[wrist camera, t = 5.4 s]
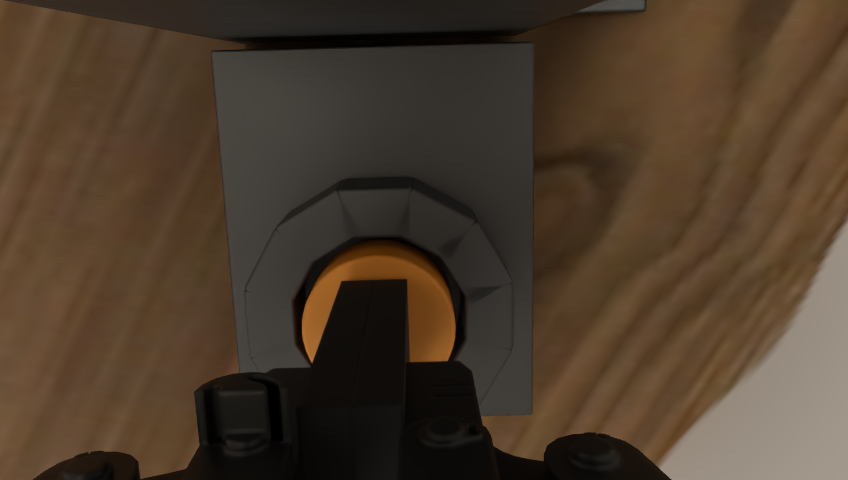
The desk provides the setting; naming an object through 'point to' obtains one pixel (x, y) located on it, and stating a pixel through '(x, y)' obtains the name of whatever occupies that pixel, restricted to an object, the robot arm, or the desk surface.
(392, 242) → the button
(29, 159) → the desk surface
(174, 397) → the desk surface
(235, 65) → the button base
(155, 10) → the coffee machine
